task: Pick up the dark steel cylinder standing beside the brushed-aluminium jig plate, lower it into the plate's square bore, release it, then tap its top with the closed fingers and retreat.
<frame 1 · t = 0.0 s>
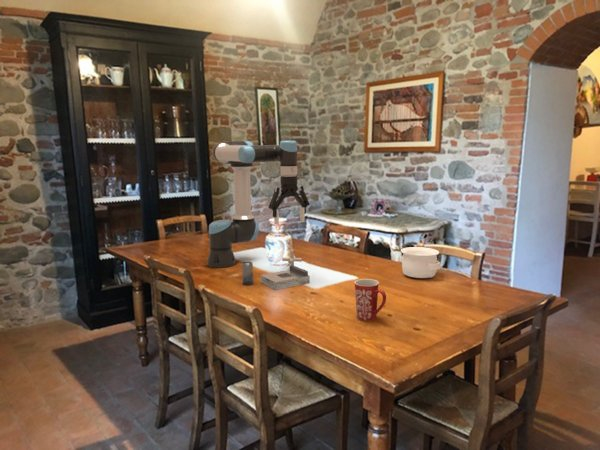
hand: (289, 222, 212), 28 cm above the table, fingers open, 13 cm apart
pipe connector: (292, 269, 240), on the table
pot: (419, 276, 225), on the table
jig: (284, 282, 217), on the table
mug: (370, 319, 172), on the table
dark steel cylinder: (248, 283, 215), on the table
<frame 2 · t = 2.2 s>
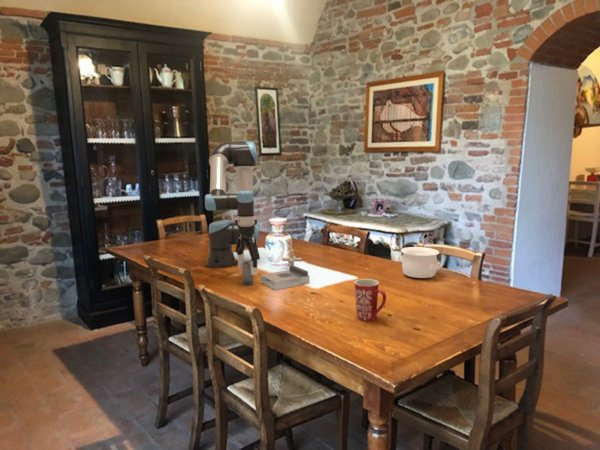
hand: (247, 271, 214), 6 cm above the table, fingers open, 13 cm apart
nothing on the table moved.
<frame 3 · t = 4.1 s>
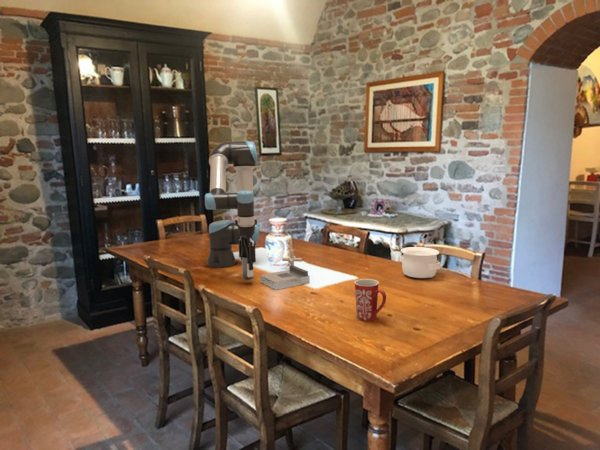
hand: (247, 274, 215), 4 cm above the table, fingers closed on dark steel cylinder, 5 cm apart
dark steel cylinder: (247, 278, 216), point 2 cm above the table, touching gripper
everything else where it was.
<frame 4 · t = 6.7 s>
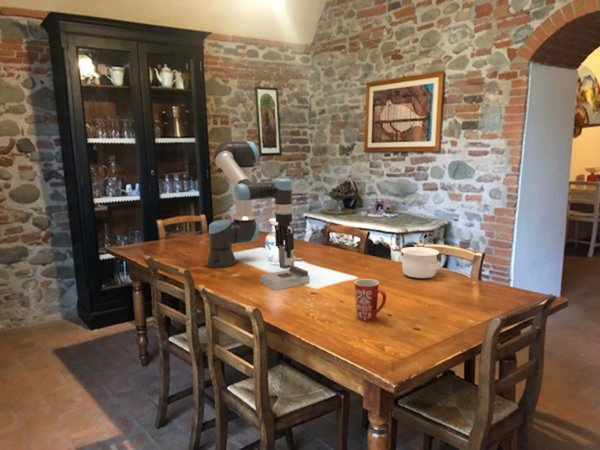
hand: (284, 263, 215), 9 cm above the table, fingers closed on dark steel cylinder, 5 cm apart
dark steel cylinder: (284, 266, 215), point 8 cm above the table, touching gripper
everything else where it was.
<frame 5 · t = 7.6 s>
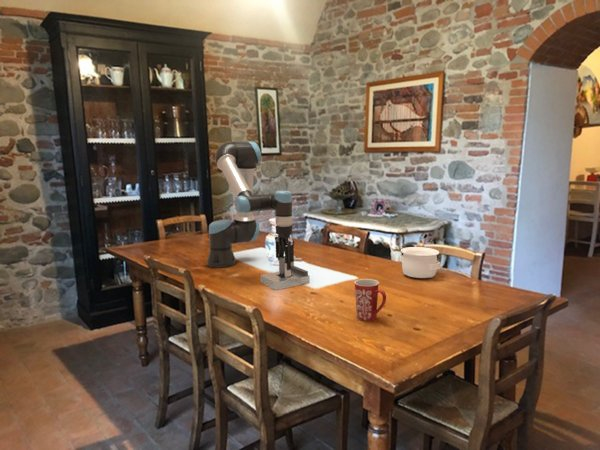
hand: (284, 274, 216), 4 cm above the table, fingers closed on dark steel cylinder, 5 cm apart
dark steel cylinder: (285, 278, 216), point 2 cm above the table, touching gripper
everything else where it was.
when the fingers open (4 cm above the table, at t = 9.2 s): dark steel cylinder drops 2 cm, resting in jig.
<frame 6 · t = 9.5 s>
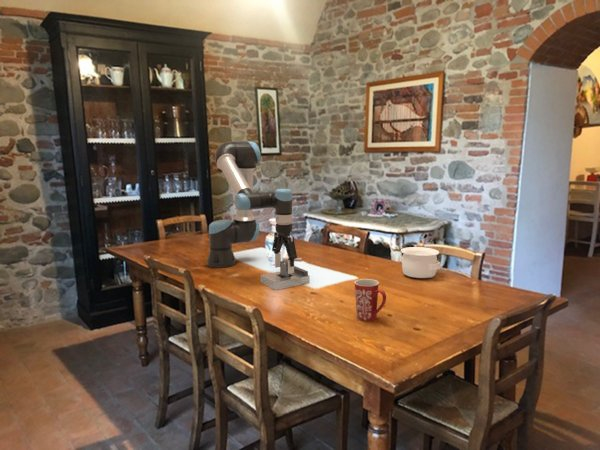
hand: (284, 270, 216), 6 cm above the table, fingers open, 11 cm apart
dark steel cylinder: (285, 282, 216), resting in jig
everything else where it was.
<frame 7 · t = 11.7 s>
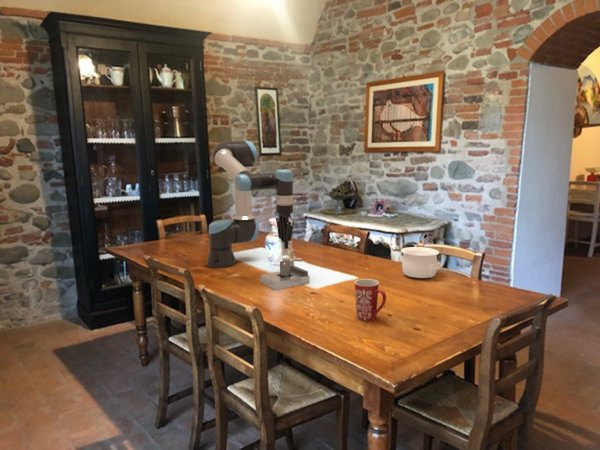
hand: (285, 255, 215), 13 cm above the table, fingers closed
nothing on the table moved.
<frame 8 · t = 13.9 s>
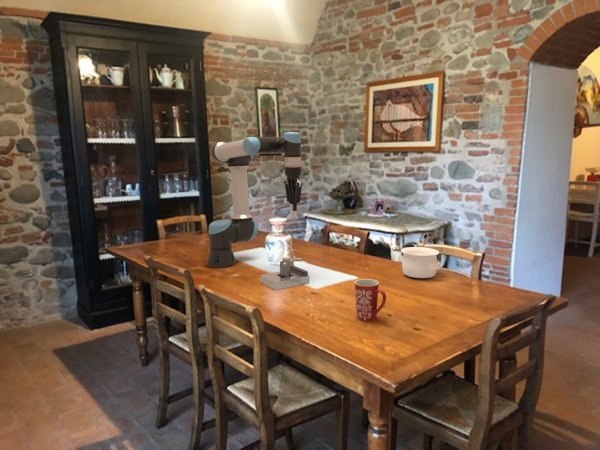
hand: (293, 217, 218), 29 cm above the table, fingers closed
nothing on the table moved.
at the end: dark steel cylinder 0.4 cm off-centre on the jig, point 0.0 cm above the jig's base; dark steel cylinder tilted 0°; the gripper is holding nothing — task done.
